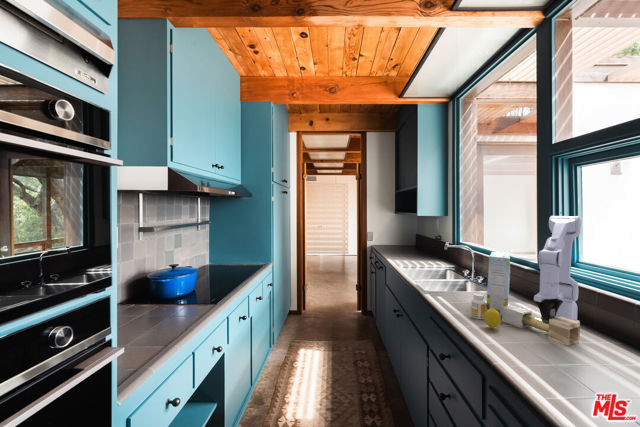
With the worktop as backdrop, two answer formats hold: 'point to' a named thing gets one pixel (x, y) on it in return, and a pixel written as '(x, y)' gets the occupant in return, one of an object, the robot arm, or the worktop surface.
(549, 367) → the worktop surface
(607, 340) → the worktop surface
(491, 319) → the lemon
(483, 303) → the supplement bottle
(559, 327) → the socket block
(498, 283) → the snack box
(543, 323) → the tube
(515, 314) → the sleeve
